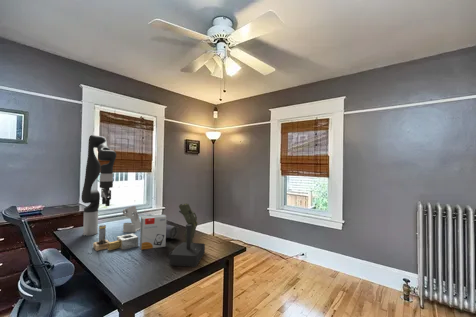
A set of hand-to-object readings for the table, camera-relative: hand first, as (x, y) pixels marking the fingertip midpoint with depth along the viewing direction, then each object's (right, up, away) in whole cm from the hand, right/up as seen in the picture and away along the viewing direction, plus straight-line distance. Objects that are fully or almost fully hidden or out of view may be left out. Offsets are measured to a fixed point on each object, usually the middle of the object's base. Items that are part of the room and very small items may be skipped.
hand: (105, 205), depth 150 cm
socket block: (+14, -27, +1) cm, 31 cm away
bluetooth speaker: (+30, -28, +19) cm, 45 cm away
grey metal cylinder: (-1, -27, -2) cm, 27 cm away
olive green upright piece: (+54, -28, 0) cm, 61 cm away
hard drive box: (+31, -28, +1) cm, 41 cm away
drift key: (+9, -27, -3) cm, 29 cm away
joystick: (+57, -28, -17) cm, 66 cm away
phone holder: (+1, -28, +38) cm, 47 cm away
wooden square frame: (-1, -27, -2) cm, 27 cm away
